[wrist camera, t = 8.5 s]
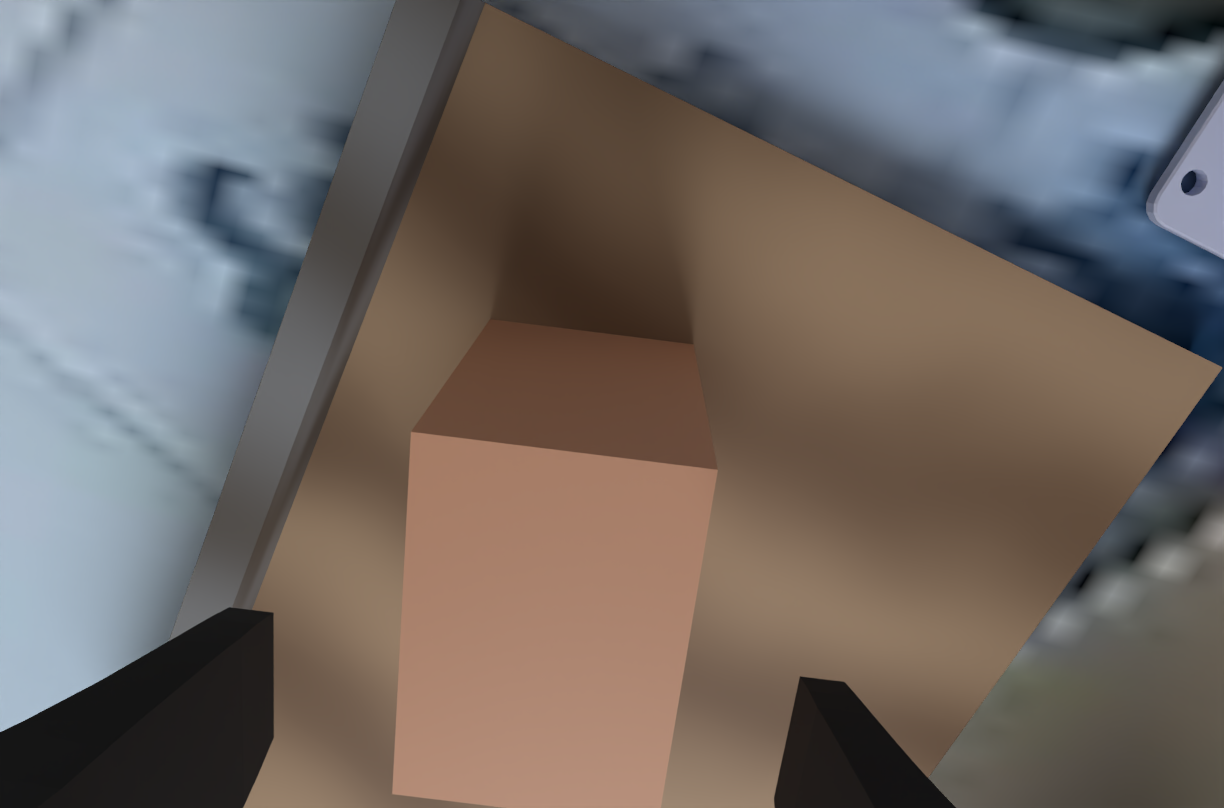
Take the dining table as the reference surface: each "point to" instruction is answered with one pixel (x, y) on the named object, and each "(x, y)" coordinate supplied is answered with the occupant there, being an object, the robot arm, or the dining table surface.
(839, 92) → the dining table surface
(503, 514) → the tea tin
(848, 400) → the brown wooden pallet
